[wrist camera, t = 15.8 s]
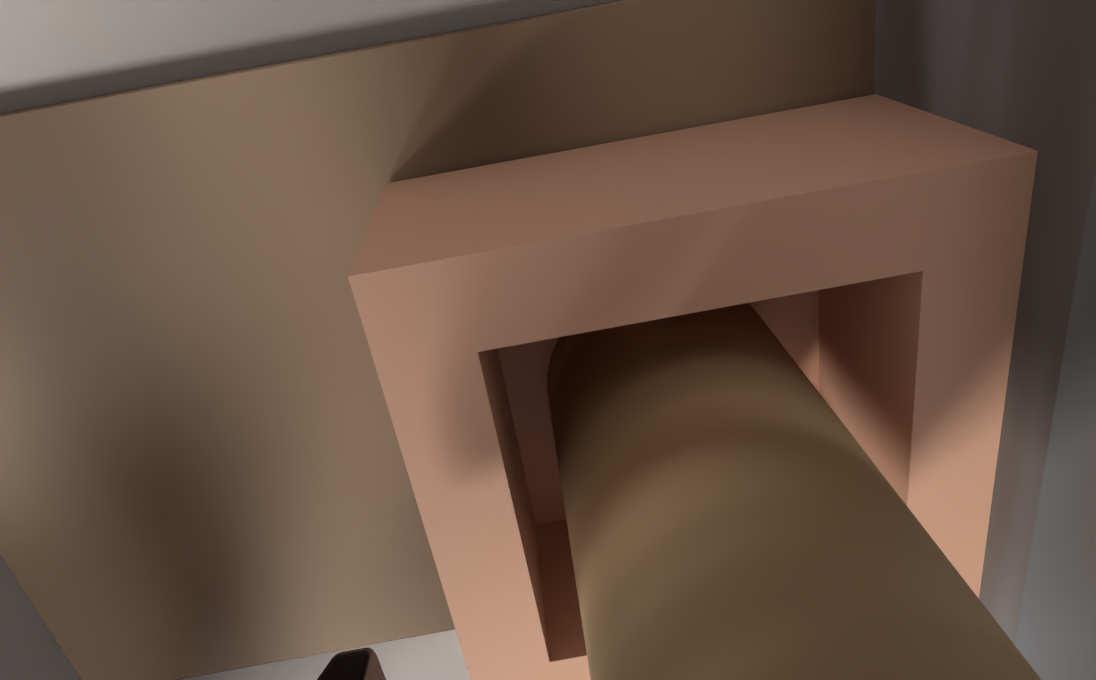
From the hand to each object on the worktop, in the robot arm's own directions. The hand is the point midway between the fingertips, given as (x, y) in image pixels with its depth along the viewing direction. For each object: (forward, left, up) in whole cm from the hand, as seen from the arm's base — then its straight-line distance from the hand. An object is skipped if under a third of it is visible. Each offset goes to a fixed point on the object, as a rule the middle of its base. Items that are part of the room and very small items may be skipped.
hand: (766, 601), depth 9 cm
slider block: (0, 0, -6) cm, 6 cm away
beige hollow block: (-3, 0, -7) cm, 7 cm away
